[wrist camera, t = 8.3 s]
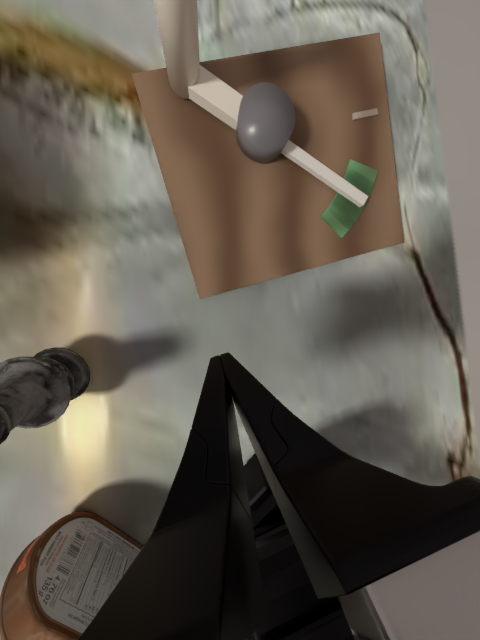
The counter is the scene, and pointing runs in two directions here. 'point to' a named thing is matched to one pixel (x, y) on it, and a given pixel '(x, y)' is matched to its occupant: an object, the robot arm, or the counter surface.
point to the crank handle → (237, 99)
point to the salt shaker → (39, 388)
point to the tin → (64, 578)
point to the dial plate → (279, 165)
